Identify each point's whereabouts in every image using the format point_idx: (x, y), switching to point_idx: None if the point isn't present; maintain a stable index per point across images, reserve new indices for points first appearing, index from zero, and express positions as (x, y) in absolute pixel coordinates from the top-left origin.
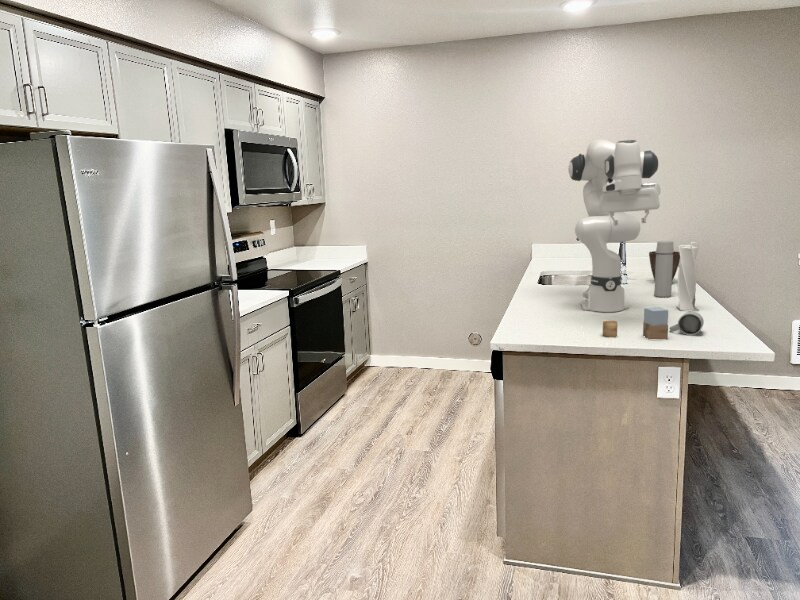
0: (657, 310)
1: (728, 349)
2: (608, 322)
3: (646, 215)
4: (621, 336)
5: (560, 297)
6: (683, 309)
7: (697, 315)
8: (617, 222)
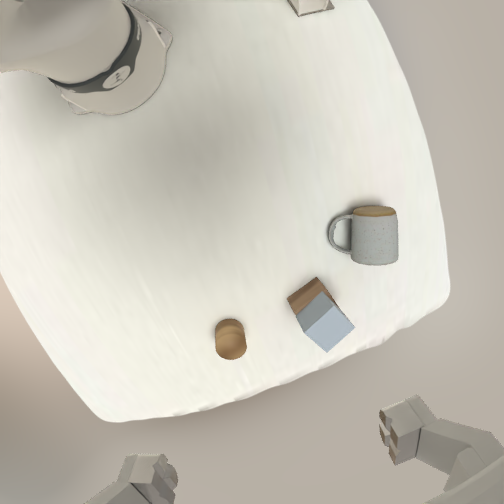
0: (335, 341)
1: (414, 309)
2: (229, 352)
3: (445, 462)
4: (251, 324)
5: None
6: (304, 12)
7: (396, 259)
8: (162, 478)
